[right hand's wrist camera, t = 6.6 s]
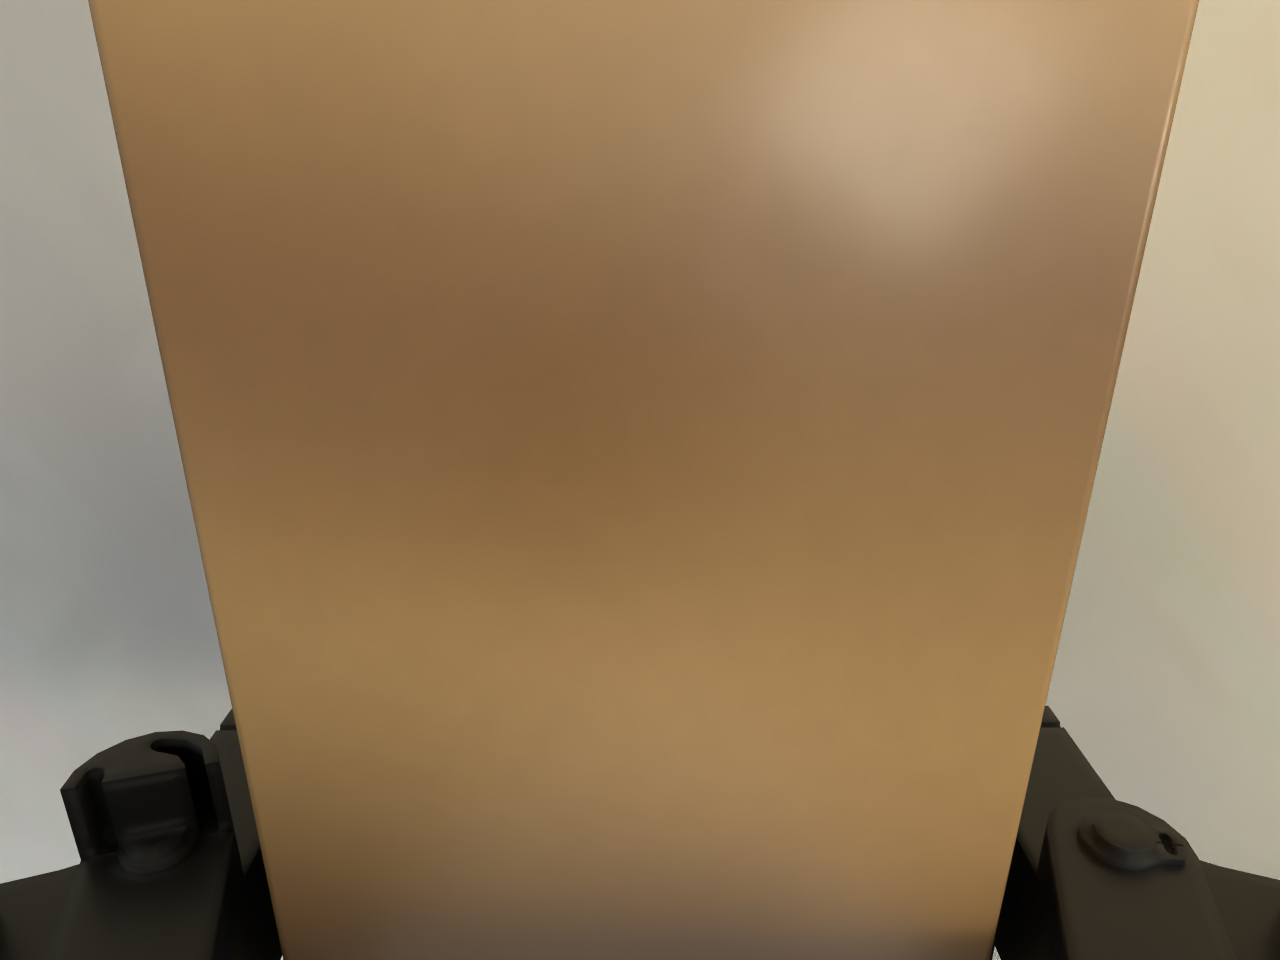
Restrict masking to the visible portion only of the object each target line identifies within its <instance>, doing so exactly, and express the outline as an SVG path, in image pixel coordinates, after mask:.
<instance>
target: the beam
mask: <svg viewBox="0 0 1280 960" xmlns="http://www.w3.org/2000/svg"><path fill="white" fill-rule="evenodd" d="M88 1H89V6H90V11H91V16H92V21H93V26H94V31H95V36H96V41H97V46H98V51H99V55H100V60H101V65H102V70H103V75H104V80H105V85H106V90H107V95H108V100H109V105H110V109H111V114H112V119H113V124H114V129H115V134H116V139H117V144H118V149H119V154H120V159H121V163H122V168H123V173H124V178H125V183H126V188H127V193H128V198H129V203H130V208H131V213H132V218H133V222H134V227H135V232H136V237H137V242H138V247H139V252H140V257H141V262H142V267H143V272H144V276H145V281H146V286H147V291H148V296H149V301H150V306H151V311H152V316H153V321H154V326H155V331H156V335H157V340H158V345H159V350H160V355H161V360H162V365H163V370H164V375H165V380H166V385H167V389H168V394H169V399H170V404H171V409H172V414H173V419H174V424H175V429H176V434H177V439H178V444H179V448H180V453H181V458H182V463H183V468H184V473H185V478H186V483H187V488H188V493H189V498H190V502H191V507H192V512H193V517H194V522H195V527H196V532H197V537H198V542H199V547H200V552H201V556H202V561H203V566H204V571H205V576H206V581H207V586H208V591H209V596H210V601H211V606H212V611H213V615H214V620H215V625H216V630H217V635H218V640H219V645H220V650H221V655H222V660H223V665H224V669H225V674H226V679H227V684H228V689H229V694H230V699H231V704H232V709H233V714H234V719H235V724H236V728H237V733H238V738H239V743H240V748H241V753H242V758H243V763H244V768H245V773H246V778H247V782H248V787H249V792H250V797H251V802H252V807H253V812H254V817H255V822H256V827H257V832H258V837H259V841H260V846H261V851H262V856H263V861H264V866H265V871H266V876H267V881H268V886H269V891H270V895H271V900H272V905H273V910H274V915H275V920H276V925H277V930H278V935H279V940H280V945H281V949H282V954H283V959H284V960H990V956H991V951H992V946H993V942H994V937H995V933H996V928H997V923H998V919H999V914H1000V910H1001V905H1002V901H1003V896H1004V891H1005V887H1006V882H1007V878H1008V873H1009V868H1010V864H1011V859H1012V855H1013V850H1014V846H1015V841H1016V836H1017V832H1018V827H1019V823H1020V818H1021V813H1022V809H1023V804H1024V800H1025V795H1026V791H1027V786H1028V781H1029V777H1030V772H1031V768H1032V763H1033V759H1034V754H1035V749H1036V745H1037V740H1038V736H1039V731H1040V726H1041V722H1042V717H1043V713H1044V708H1045V704H1046V699H1047V694H1048V690H1049V685H1050V681H1051V676H1052V671H1053V667H1054V662H1055V658H1056V653H1057V649H1058V644H1059V639H1060V635H1061V630H1062V626H1063V621H1064V616H1065V612H1066V607H1067V603H1068V598H1069V594H1070V589H1071V584H1072V580H1073V575H1074V571H1075V566H1076V562H1077V557H1078V552H1079V548H1080V543H1081V539H1082V534H1083V529H1084V525H1085V520H1086V516H1087V511H1088V507H1089V502H1090V497H1091V493H1092V488H1093V484H1094V479H1095V474H1096V470H1097V465H1098V461H1099V456H1100V452H1101V447H1102V442H1103V438H1104V433H1105V429H1106V424H1107V419H1108V415H1109V410H1110V406H1111V401H1112V397H1113V392H1114V387H1115V383H1116V378H1117V374H1118V369H1119V365H1120V360H1121V355H1122V351H1123V346H1124V342H1125V337H1126V332H1127V328H1128V323H1129V319H1130V314H1131V310H1132V305H1133V300H1134V296H1135V291H1136V287H1137V282H1138V277H1139V273H1140V268H1141V264H1142V259H1143V255H1144V250H1145V245H1146V241H1147V236H1148V232H1149V227H1150V222H1151V218H1152V213H1153V209H1154V204H1155V200H1156V195H1157V190H1158V186H1159V181H1160V177H1161V172H1162V168H1163V163H1164V158H1165V154H1166V149H1167V145H1168V140H1169V135H1170V131H1171V126H1172V122H1173V117H1174V113H1175V108H1176V103H1177V99H1178V94H1179V90H1180V85H1181V80H1182V76H1183V71H1184V67H1185V62H1186V58H1187V53H1188V48H1189V44H1190V39H1191V35H1192V30H1193V26H1194V21H1195V16H1196V12H1197V7H1198V3H1199V0H88Z"/></svg>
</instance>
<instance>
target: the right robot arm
mask: <svg viewBox="0 0 1280 960" xmlns="http://www.w3.org/2000/svg"><path fill="white" fill-rule="evenodd" d="M60 791H61V795H62V798H63V801H64V805H65V808H66V811H67V815H68V818H69V821H70V825H71V828H72V832H73V835H74V838H75V842H76V845H77V848H78V852H79V855H80V858H81V862H80V864H78V865H75V866H72V867H68V868H65V869H62V870H58V871H54V872H50V873H45V874H41V875H37V876H32V877H28V878H24V879H19V880H15V881H11V882H6V883H2V884H0V960H280V959H281V957H282V955H283V954H282V949H281V945H280V940H279V935H278V930H277V925H276V920H275V915H274V910H273V905H272V900H271V895H270V891H269V886H268V881H267V876H266V871H265V866H264V861H263V856H262V851H261V846H260V841H259V837H258V832H257V827H256V822H255V817H254V812H253V807H252V802H251V797H250V792H249V787H248V782H247V778H246V773H245V768H244V763H243V758H242V753H241V748H240V743H239V738H238V733H237V728H236V724H235V719H234V714H233V709H231V711H230V712H229V713H228V715H227V716H226V718H225V719H224V720H223V722H222V723H221V725H220V730H219V731H216V732H215V733H214V734H213V736H212V737H211V739H210V740H209V739H208V738H206V737H205V736H204V735H200V734H196V733H191V732H187V731H168V732H154V733H151V734H147V735H143V736H139V737H136V738H132V739H128V740H125V741H123V742H121V743H119V744H116V745H114V746H112V747H110V748H108V749H106V750H104V751H102V752H99V753H97V754H96V755H95V756H93V757H92V758H91V759H89V760H88V761H87V762H85V763H84V764H83V765H81V766H80V767H79V768H77V769H76V770H75V771H74V772H73V773H72V774H71V776H70V777H69V778H68V780H67V781H66V782H65V784H64V785H63V787H62V788H61V789H60ZM994 947H996V949H997V952H998V954H999V956H1000V958H1001V960H1280V880H1276V879H1272V878H1268V877H1263V876H1259V875H1255V874H1250V873H1246V872H1242V871H1237V870H1233V869H1229V868H1224V867H1220V866H1217V865H1214V864H1210V863H1207V862H1204V861H1200V860H1199V859H1198V857H1197V856H1196V854H1195V852H1194V851H1193V849H1192V848H1191V846H1190V845H1189V843H1188V842H1187V840H1186V839H1185V838H1184V837H1183V836H1182V835H1180V834H1179V833H1178V832H1177V831H1176V830H1175V829H1173V828H1172V827H1171V826H1170V825H1169V824H1167V823H1166V822H1165V821H1164V820H1162V819H1160V818H1158V817H1156V816H1154V815H1152V814H1151V813H1149V812H1147V811H1145V810H1143V809H1141V808H1139V807H1137V806H1134V805H1131V804H1127V803H1124V802H1121V801H1117V800H1115V798H1114V797H1113V796H1112V794H1111V793H1110V791H1109V790H1108V789H1107V787H1106V786H1105V784H1104V783H1103V782H1102V780H1101V779H1100V777H1099V776H1098V775H1097V773H1096V772H1095V770H1094V769H1093V768H1092V766H1091V765H1090V763H1089V762H1088V761H1087V759H1086V758H1085V756H1084V755H1083V754H1082V752H1081V751H1080V749H1079V748H1078V747H1077V745H1076V744H1075V742H1074V741H1073V740H1072V738H1071V737H1070V736H1069V734H1068V733H1067V731H1066V730H1065V729H1064V728H1061V727H1060V722H1059V720H1058V719H1057V717H1056V716H1055V715H1054V713H1053V712H1052V710H1051V709H1050V708H1049V706H1045V708H1044V713H1043V717H1042V722H1041V726H1040V731H1039V736H1038V740H1037V745H1036V749H1035V754H1034V759H1033V763H1032V768H1031V772H1030V777H1029V781H1028V786H1027V791H1026V795H1025V800H1024V804H1023V809H1022V813H1021V818H1020V823H1019V827H1018V832H1017V836H1016V841H1015V846H1014V850H1013V855H1012V859H1011V864H1010V868H1009V873H1008V878H1007V882H1006V887H1005V891H1004V896H1003V901H1002V905H1001V910H1000V914H999V919H998V923H997V928H996V933H995V937H994V942H993V946H992V951H991V956H990V960H992V957H993V952H994Z"/></svg>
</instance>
